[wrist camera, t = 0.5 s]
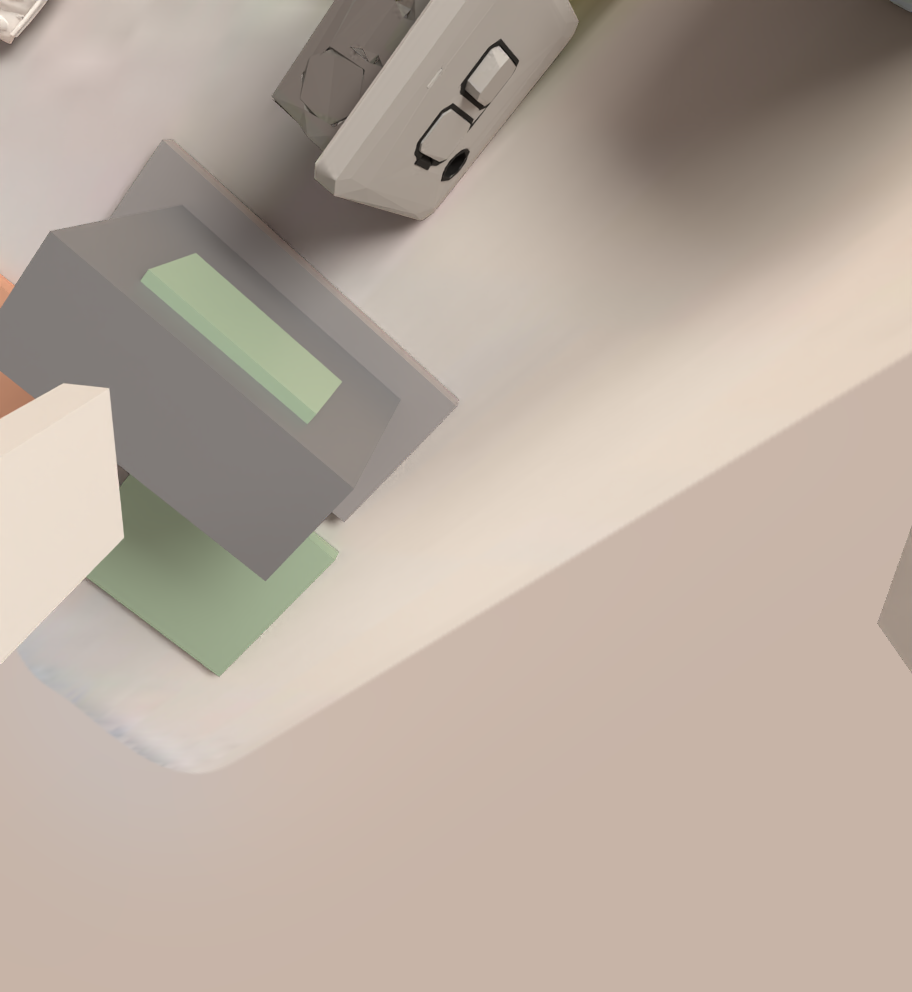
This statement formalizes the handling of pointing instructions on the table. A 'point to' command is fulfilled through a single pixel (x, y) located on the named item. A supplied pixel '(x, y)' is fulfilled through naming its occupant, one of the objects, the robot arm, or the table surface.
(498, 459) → the table surface
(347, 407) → the block
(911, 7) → the teal cup
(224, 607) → the pad sage
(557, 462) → the table surface
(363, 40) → the electrical switch
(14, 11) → the car
